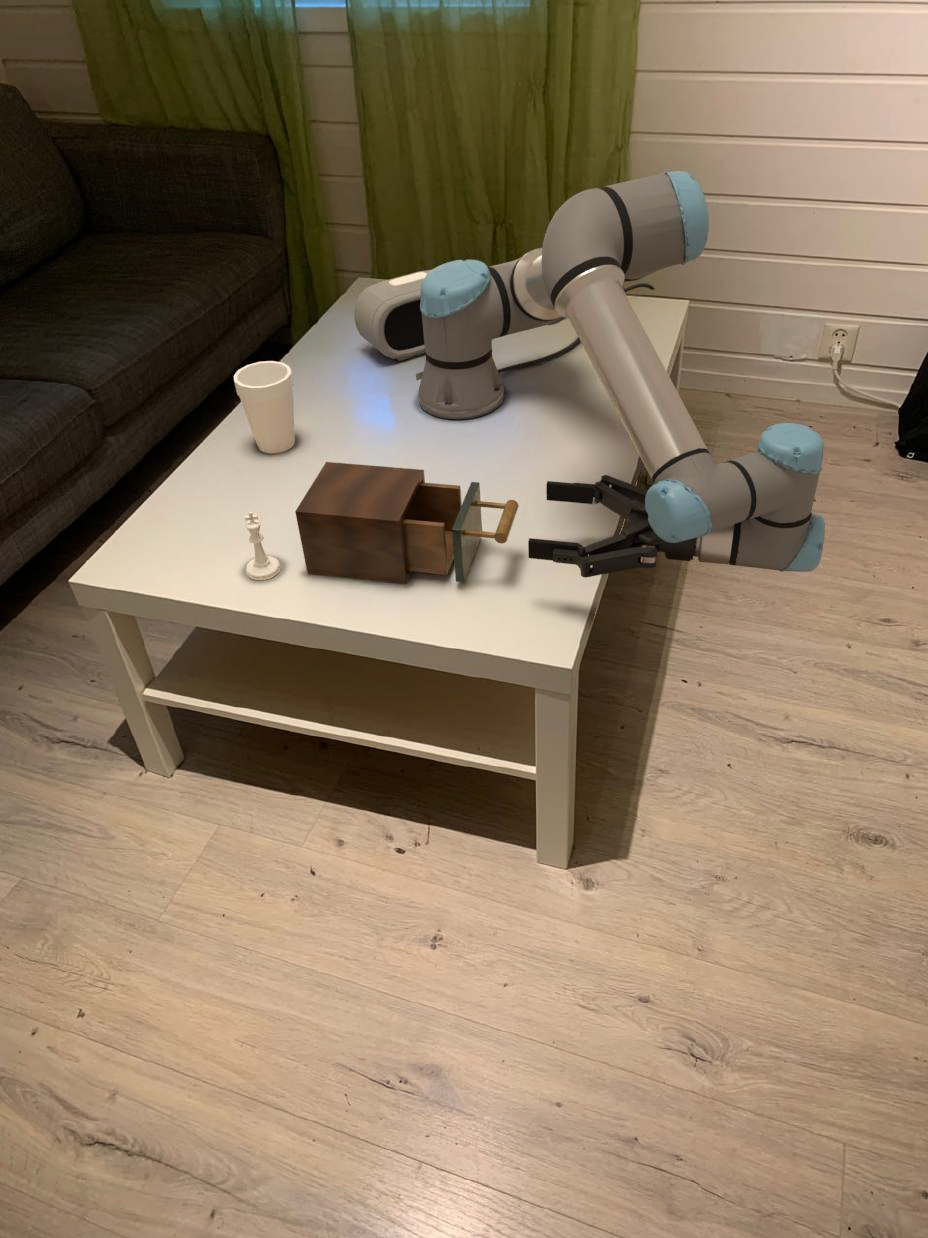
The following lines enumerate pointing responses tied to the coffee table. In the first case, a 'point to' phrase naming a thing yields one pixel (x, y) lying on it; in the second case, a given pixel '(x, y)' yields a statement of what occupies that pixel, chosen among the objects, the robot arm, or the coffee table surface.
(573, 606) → the coffee table surface
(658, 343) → the coffee table surface
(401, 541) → the cabinet
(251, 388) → the foam cup
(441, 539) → the drawer
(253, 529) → the chess piece
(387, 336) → the alarm clock
